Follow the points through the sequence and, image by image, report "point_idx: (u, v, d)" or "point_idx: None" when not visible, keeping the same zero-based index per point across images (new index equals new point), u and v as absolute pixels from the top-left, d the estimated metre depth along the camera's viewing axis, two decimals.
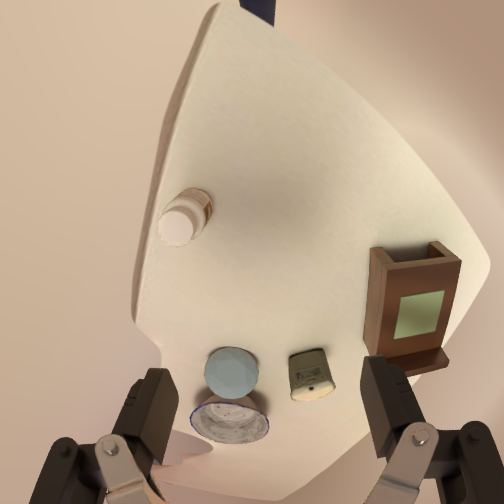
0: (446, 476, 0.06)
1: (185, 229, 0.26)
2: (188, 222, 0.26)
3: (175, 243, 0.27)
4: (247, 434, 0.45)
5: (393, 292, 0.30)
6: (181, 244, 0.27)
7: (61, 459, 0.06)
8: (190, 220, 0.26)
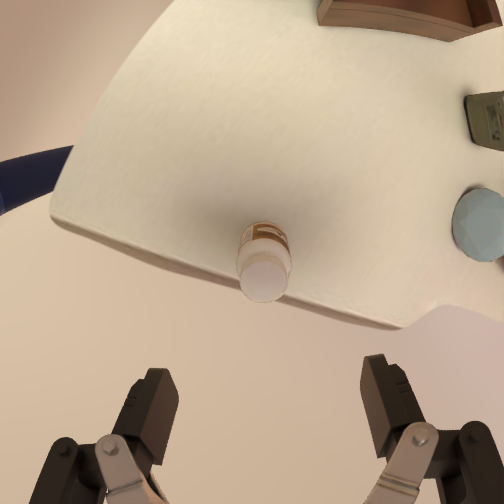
0: (446, 476, 0.06)
1: (264, 270, 0.21)
2: (255, 266, 0.21)
3: (282, 284, 0.21)
4: None
5: None
6: (284, 277, 0.21)
7: (61, 459, 0.06)
8: (252, 263, 0.21)
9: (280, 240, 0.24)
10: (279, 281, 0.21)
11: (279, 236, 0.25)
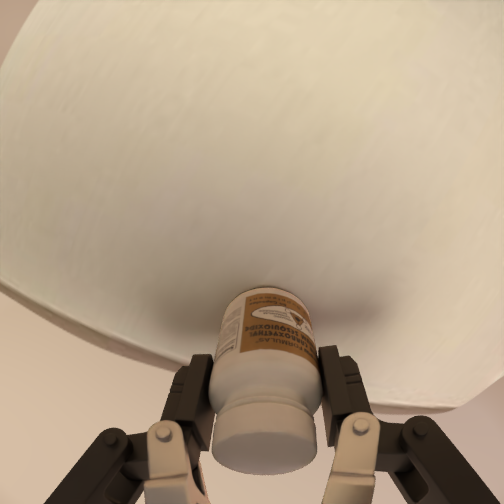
0: (401, 472, 0.07)
1: (265, 443, 0.08)
2: (245, 438, 0.07)
3: (305, 457, 0.08)
4: None
5: None
6: (311, 450, 0.08)
7: (106, 450, 0.07)
8: (237, 433, 0.07)
9: (301, 344, 0.11)
10: (299, 454, 0.08)
11: (299, 330, 0.12)
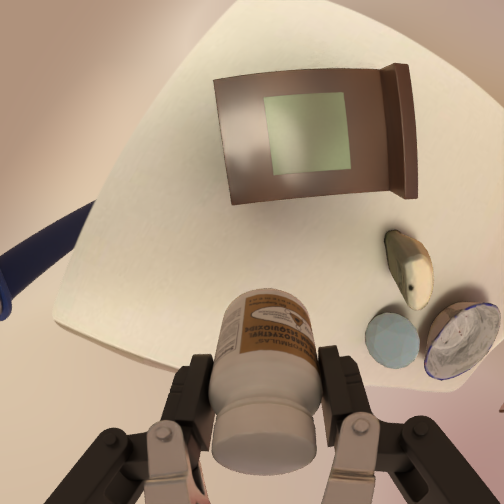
0: (401, 472, 0.07)
1: (265, 444, 0.08)
2: (244, 438, 0.07)
3: (305, 458, 0.08)
4: (490, 318, 0.30)
5: (265, 188, 0.23)
6: (310, 450, 0.08)
7: (106, 450, 0.07)
8: (237, 434, 0.07)
9: (301, 345, 0.11)
10: (299, 455, 0.08)
11: (298, 330, 0.12)
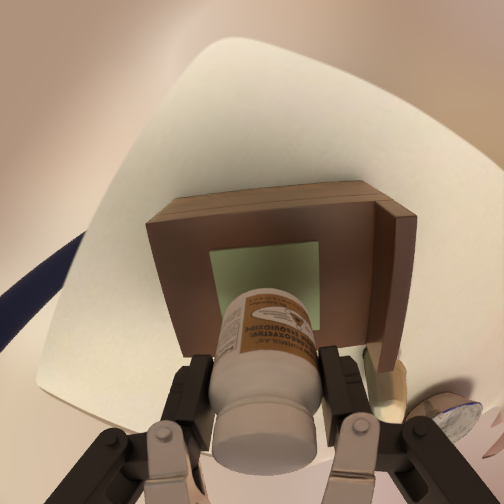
0: (401, 472, 0.07)
1: (265, 444, 0.08)
2: (245, 438, 0.07)
3: (305, 458, 0.08)
4: (472, 408, 0.27)
5: None
6: (311, 450, 0.08)
7: (106, 450, 0.07)
8: (237, 434, 0.07)
9: (301, 344, 0.11)
10: (299, 455, 0.08)
11: (299, 330, 0.12)
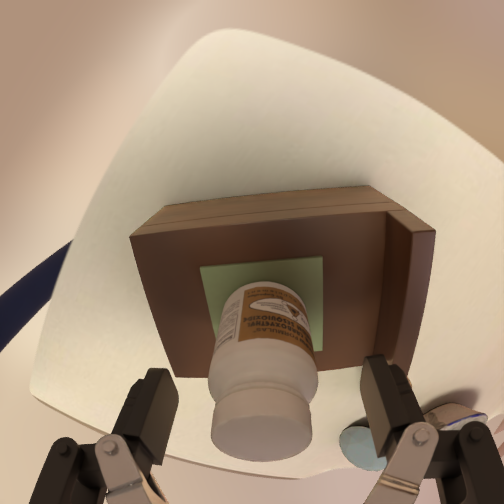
0: (446, 476, 0.06)
1: (262, 427, 0.08)
2: (242, 421, 0.08)
3: (301, 443, 0.09)
4: (477, 418, 0.25)
5: None
6: (306, 435, 0.08)
7: (61, 459, 0.06)
8: (235, 417, 0.08)
9: (297, 334, 0.11)
10: (295, 439, 0.08)
11: (295, 321, 0.12)
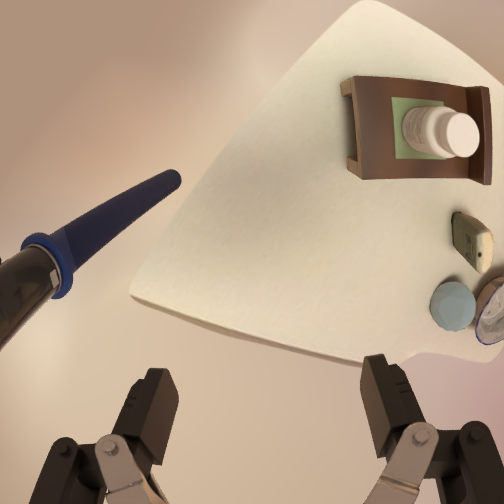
0: (446, 476, 0.06)
1: (464, 122, 0.16)
2: (458, 116, 0.16)
3: (476, 139, 0.17)
4: None
5: (388, 168, 0.26)
6: (477, 132, 0.16)
7: (61, 459, 0.06)
8: (456, 113, 0.16)
9: None
10: (474, 135, 0.16)
11: None
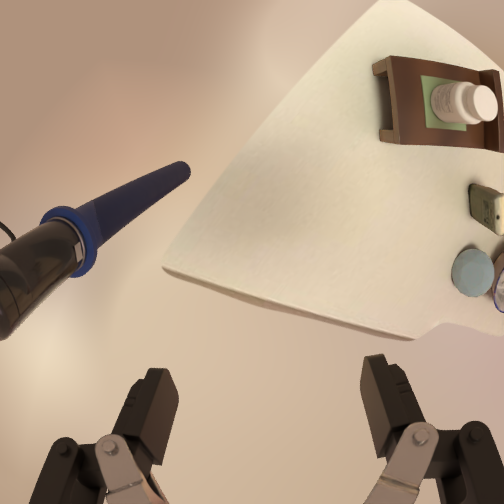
0: (446, 476, 0.06)
1: (486, 93, 0.17)
2: (481, 88, 0.17)
3: (495, 107, 0.18)
4: None
5: (420, 136, 0.27)
6: (496, 102, 0.18)
7: (61, 459, 0.06)
8: (479, 85, 0.17)
9: None
10: (494, 104, 0.18)
11: None
